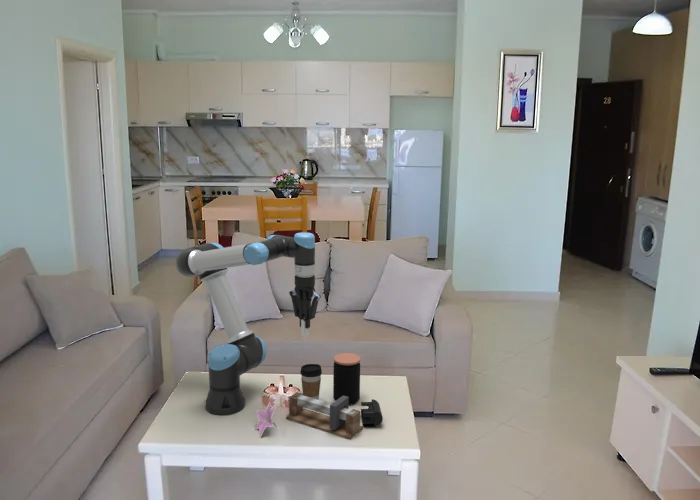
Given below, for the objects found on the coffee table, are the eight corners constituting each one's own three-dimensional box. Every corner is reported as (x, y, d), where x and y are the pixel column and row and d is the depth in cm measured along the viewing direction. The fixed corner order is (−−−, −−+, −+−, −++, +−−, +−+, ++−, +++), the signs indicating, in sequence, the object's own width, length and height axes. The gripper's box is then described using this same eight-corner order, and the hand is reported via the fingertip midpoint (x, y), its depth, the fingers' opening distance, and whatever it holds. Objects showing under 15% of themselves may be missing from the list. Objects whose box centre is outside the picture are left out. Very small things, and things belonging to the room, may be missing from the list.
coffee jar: (364, 397, 244) (365, 356, 240) (352, 408, 235) (352, 365, 231) (341, 392, 249) (341, 350, 245) (328, 402, 239) (328, 359, 235)
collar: (329, 428, 215) (329, 404, 214) (342, 417, 223) (343, 395, 221) (335, 429, 214) (335, 406, 212) (348, 419, 222) (348, 396, 220)
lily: (258, 422, 225) (247, 406, 220) (287, 411, 224) (277, 394, 219) (258, 447, 215) (246, 431, 210) (288, 436, 214) (277, 419, 209)
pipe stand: (285, 418, 226) (285, 398, 224) (300, 409, 233) (299, 389, 231) (349, 439, 212) (350, 418, 210) (362, 428, 219) (363, 408, 217)
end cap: (382, 428, 220) (383, 411, 219) (363, 428, 220) (363, 411, 218) (379, 415, 230) (379, 398, 228) (360, 415, 229) (360, 399, 228)
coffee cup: (318, 407, 235) (318, 371, 231) (297, 405, 236) (297, 369, 233) (323, 398, 243) (324, 363, 240) (303, 396, 244) (303, 361, 241)
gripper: (284, 274, 221) (284, 335, 226) (313, 279, 215) (313, 342, 220) (296, 270, 228) (296, 329, 233) (325, 275, 221) (324, 336, 226)
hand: (304, 335), depth 226 cm, fingers closed
